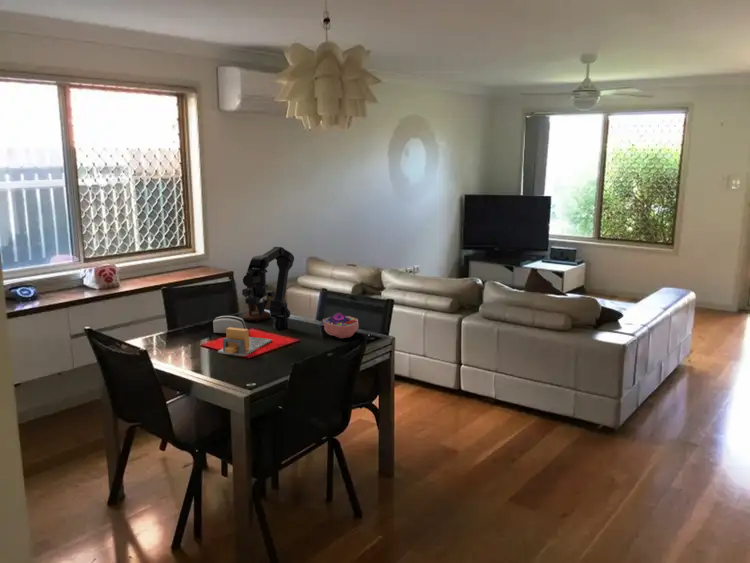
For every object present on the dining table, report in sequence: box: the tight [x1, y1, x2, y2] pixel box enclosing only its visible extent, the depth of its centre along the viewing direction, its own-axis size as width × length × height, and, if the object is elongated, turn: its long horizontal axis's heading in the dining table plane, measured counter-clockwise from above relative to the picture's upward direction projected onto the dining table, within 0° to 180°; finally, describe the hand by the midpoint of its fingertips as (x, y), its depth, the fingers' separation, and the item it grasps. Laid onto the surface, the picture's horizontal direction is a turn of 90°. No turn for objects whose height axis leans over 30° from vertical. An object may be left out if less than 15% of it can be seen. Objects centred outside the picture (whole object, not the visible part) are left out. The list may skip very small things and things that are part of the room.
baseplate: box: [217, 336, 273, 357], centre depth 298 cm, size 24×14×7 cm, turn 159°
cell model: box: [322, 312, 359, 339], centre depth 312 cm, size 17×20×11 cm
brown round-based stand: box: [242, 286, 271, 323], centre depth 344 cm, size 15×15×20 cm
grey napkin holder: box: [212, 315, 248, 334], centre depth 321 cm, size 17×5×10 cm, turn 81°
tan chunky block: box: [225, 327, 250, 353], centre depth 289 cm, size 9×10×9 cm
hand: (261, 314), depth 309 cm, fingers closed
